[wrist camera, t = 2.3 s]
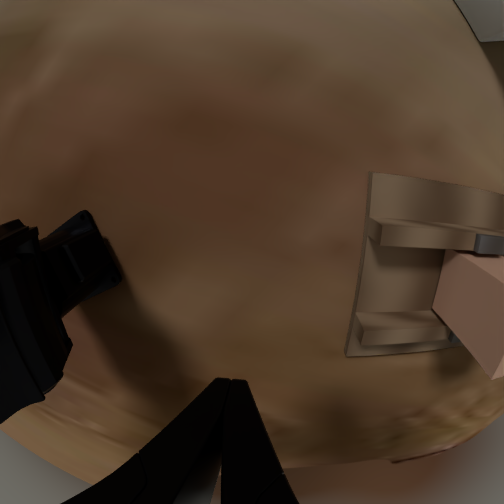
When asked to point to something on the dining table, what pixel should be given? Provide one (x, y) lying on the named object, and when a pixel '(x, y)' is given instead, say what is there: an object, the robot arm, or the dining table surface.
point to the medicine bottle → (484, 18)
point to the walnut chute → (415, 259)
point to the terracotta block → (474, 304)
